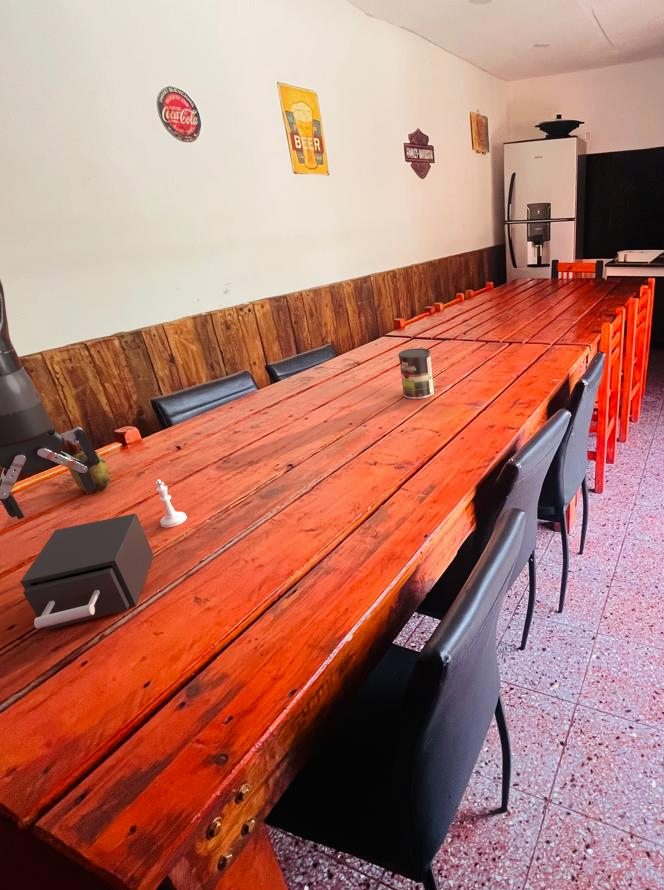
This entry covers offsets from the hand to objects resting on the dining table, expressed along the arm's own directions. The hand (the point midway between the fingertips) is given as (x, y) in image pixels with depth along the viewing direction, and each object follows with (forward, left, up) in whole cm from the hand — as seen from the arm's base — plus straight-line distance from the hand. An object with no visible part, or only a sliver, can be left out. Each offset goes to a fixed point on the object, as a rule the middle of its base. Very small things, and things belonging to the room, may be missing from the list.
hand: (56, 504), depth 77 cm
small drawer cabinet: (-1, +4, -20) cm, 20 cm away
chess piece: (+7, +23, -20) cm, 31 cm away
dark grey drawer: (-1, -1, -19) cm, 19 cm away
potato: (-14, +49, -20) cm, 55 cm away
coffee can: (+73, +74, -20) cm, 106 cm away
